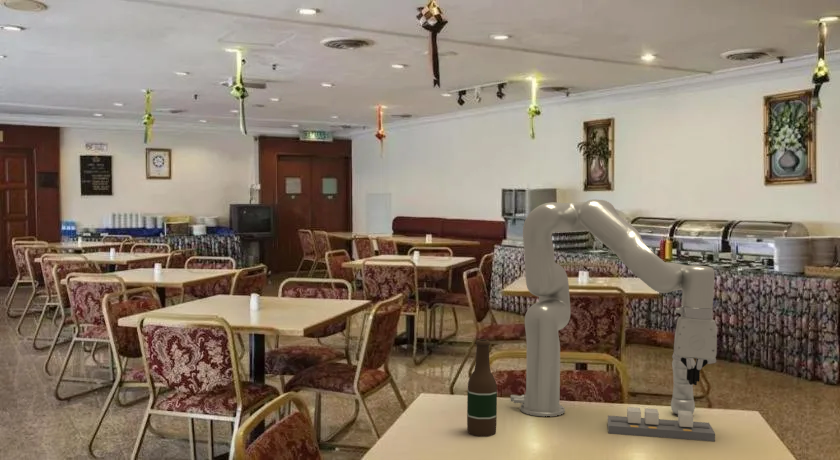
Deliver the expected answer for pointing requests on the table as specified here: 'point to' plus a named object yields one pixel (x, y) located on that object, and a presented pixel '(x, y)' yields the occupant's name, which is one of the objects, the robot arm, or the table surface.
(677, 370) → the plastic bottle
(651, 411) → the slider
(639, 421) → the slider
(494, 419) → the beer bottle
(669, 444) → the table surface
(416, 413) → the table surface
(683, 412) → the slider
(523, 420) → the table surface
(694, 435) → the switch deck
